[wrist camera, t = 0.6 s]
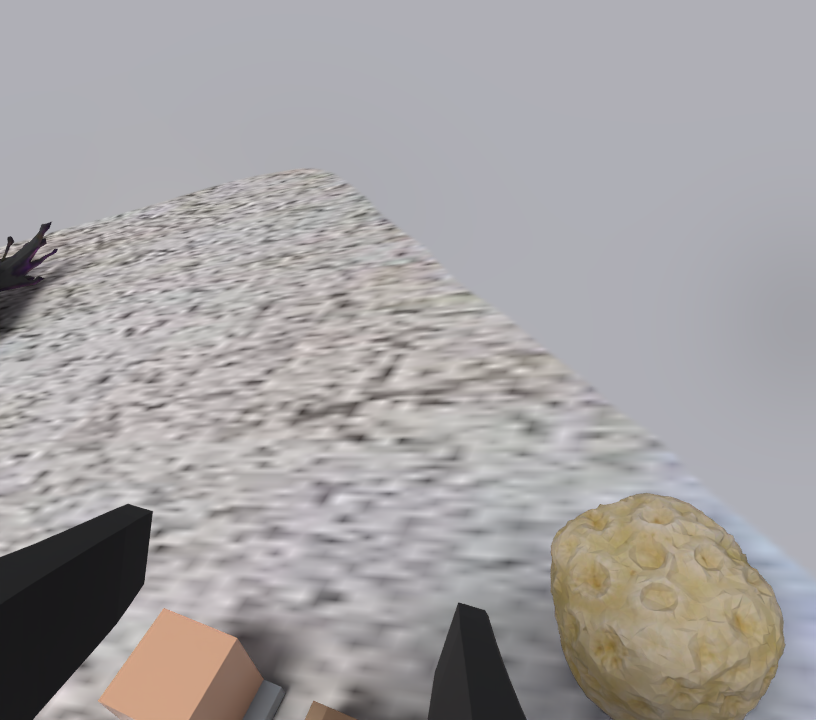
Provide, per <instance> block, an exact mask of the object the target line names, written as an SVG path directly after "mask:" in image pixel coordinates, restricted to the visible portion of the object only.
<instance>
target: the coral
mask: <svg viewBox="0 0 816 720" xmlns="http://www.w3.org/2000/svg"><path fill="white" fill-rule="evenodd" d="M551 555H552V564H551V593H552V595H553V600H554V605H555V618H556V620H557V623H558V630H559V634H560V638H561V646H562V649H563V652H564V655H565V658H566V661H567V662H568V664H569V667H570V669H571V672H572V674H573V676H574V677H575V679H576V680H577V682H578V684H579V686H580V687H581V688H582V690H583V691H584V693H585V695H586V696H587V697H588V698H589V699H590V700H591V701H593V702H594V703H595V704H596V705H597V706H598V707H599V708H600V709H601V710H603V711H604V712H605V713H606V714H607V715H609V716H610V717H611V718H612V719H613V720H743V719H744V717H745V716H746V714H747V713H748V712H749V711H751V710H752V709H754V708H755V707H756V706H757V704H758V702H759V700H760V699H761V697H762V696H763V695H764V694H765V692H766V691H767V689H768V687H769V685H770V682H771V680H772V679H773V678H774V677H775V674H776V671H777V668H778V661H779V659H780V657H781V656H782V654H783V651H784V648H785V643H784V636H783V623H784V622H783V617H782V612H781V609H780V606H779V605H778V603H777V601H776V598H775V594H774V592H773V590H772V587H771V586H770V585H769V584H768V583H767V582H766V581H765V579H764V578H763V577H762V575H760V574H759V572H758V571H757V569H754V568H752V567H751V566H750V565H749V564H748V563H747V557H746V554H742V551H741V548H740V546H739V545H738V544H737V543H736V542H735V540H734V536H732V535H730V534H728V533H727V532H726V530H725V529H724V528H723V527H720V526H719V525H718V524H716V523H715V522H714V521H713V520H712V519H710V518H709V517H707V516H706V515H705V514H704V513H703V512H702V511H700V510H698V509H696V508H695V507H694V506H692V505H691V504H689V503H686V502H684V501H681V500H678V499H676V498H673V497H669V496H660V495H654V494H649V493H643V494H636V495H633V496H629V497H627V498H625V499H622V500H620V501H619V502H616V503H613V504H607V505H602V504H600V505H599V506H598V508H597V509H591V510H588V511H586V512H585V513H583V514H581V515H579V516H578V517H576V518H575V519H574V520H570V521H568V522H567V524H566V526H565V527H563V528H562V529H560V530H559V531H558V532H557V533H556V535H555V537H554V539H553V542H552V545H551Z"/></svg>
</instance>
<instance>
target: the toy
mask: <svg viewBox="0 0 816 720" xmlns="http://www.w3.org/2000/svg"><path fill="white" fill-rule="evenodd" d="M50 225H51V222H50V223H47V224H42V225H41V228H40V231H39V232H38V234H37V235H36V236H35V237H34V238H33V239H32V240H31V241H30V242H28V243H26V244H25V245H24V246H23V248H22V249H20V250H19V251H18V252H17V253H16V254H14V255H13V256H11V257H7V258H5V257H6V255H7V252H8V250H9V248H10V246H11V245H12V244H13V243H14V240H13V238H12V237H11V236H10V237H8V244H7V247H6V251H5V254H4V256H3V258H2V259H0V292H1V291H6V290H10V289H15V288H19V287H24V286H29V285H35V284H37V283H38V282H40V281H41V280H43V279H44V278H42V277H39V276H38V277H37V278H36V279H35V277H32V276H29V275H28V276H25V275H26V274H27V273H28V272H29V271H31V270H32V269H34V268H35V267H37V266H38V265H39V264H41V263H42V262H43V261H44V260H45V259H46V258H47V257H49V256H51V255H53V254H54V253H56V252H57V250H58V249H54V250H53V251H52V253H49V254H47V255H45V256H43V257H42V258H40V259H38V260H35V261H32V262H30V261H31V260H32V258H33V257H34V255H35V254H36V252H37V251H38V249H39V248H40V247H42V246H44V245H45V244H47V243H46V238H43V236H44V234H45V232H46V231H47V230H48V229H49V228H50ZM42 238H43V239H42ZM24 276H25V277H24ZM33 279H34V280H33Z"/></svg>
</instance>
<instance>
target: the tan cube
mask: <svg viewBox="0 0 816 720" xmlns="http://www.w3.org/2000/svg"><path fill="white" fill-rule="evenodd" d="M263 680H264V679H263V678H262V676H261V674H260V673H259V671H258V670H257V668H256V667H255V665H254V663H253V662H252V660H251V659H250V657H249V656H248V654H247V652H246V651H245V649H244V648H243V646H242V645H241V643H240V641H239V640H238V638H236V637H234V636H231V635H229V634H226V633H224V632H221V631H219V630H216V629H214V628H212V627H209V626H207V625H204V624H202V623H199V622H197V621H194V620H192V619H189V618H187V617H185V616H182V615H180V614H177V613H175V612H172V611H170V610H167V609H165V608H164V609H163V610H162V612H161V613H160V614H159V616H158V617H157V619H156V620H155V621H154V623H153V624H152V626H151V627H150V628H149V630H148V631H147V633H146V634H145V635H144V637H143V638H142V640H141V641H140V642H139V644H138V645H137V647H136V648H135V649H134V651H133V652H132V654H131V655H130V656H129V658H128V659H127V661H126V662H125V664H124V665H123V666H122V668H121V669H120V671H119V672H118V673H117V675H116V676H115V678H114V679H113V680H112V682H111V683H110V685H109V686H108V687H107V689H106V690H105V692H104V693H103V694H102V696H101V697H100V699H99V700H98V701H99V702H100V703H101V704H102V705H103V706H105V707H106V708H107V709H108V710H109V711H111V712H112V713H113V714H114V715H115V716H117V717H118V718H119V719H120V720H242V719H243V717H244V716H245V714H246V712H247V710H248V708H249V706H250V704H251V702H252V700H253V699H254V697H255V695H256V693H257V691H258V689H259V687H260V685H261V683H262V682H263Z"/></svg>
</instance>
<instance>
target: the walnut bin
mask: <svg viewBox="0 0 816 720" xmlns="http://www.w3.org/2000/svg"><path fill="white" fill-rule="evenodd" d="M305 720H357V719H355V718H353V717H350V716H348V715H346V714H343V713H341V712H339V711H336V710H334V709H332V708H329V707H327V706H325V705H322V704H320V703H318V702H315V701H313V703H312V705H311V707H310V709H309V712H308V714H307V716H306V718H305Z"/></svg>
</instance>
